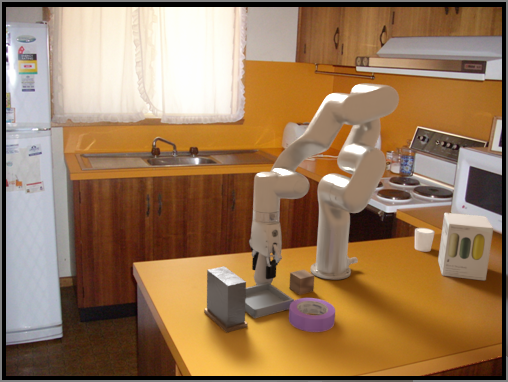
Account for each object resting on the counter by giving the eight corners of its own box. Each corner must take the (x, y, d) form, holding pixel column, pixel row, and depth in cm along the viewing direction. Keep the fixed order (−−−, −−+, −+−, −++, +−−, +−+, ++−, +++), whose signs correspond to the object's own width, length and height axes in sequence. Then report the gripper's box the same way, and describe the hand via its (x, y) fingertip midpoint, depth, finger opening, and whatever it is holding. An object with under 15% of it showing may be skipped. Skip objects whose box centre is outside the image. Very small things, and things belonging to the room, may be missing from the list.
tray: (268, 290, 150) (268, 282, 150) (293, 307, 140) (293, 299, 140) (230, 299, 144) (231, 291, 143) (254, 318, 134) (254, 309, 133)
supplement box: (441, 276, 165) (448, 223, 160) (437, 261, 177) (443, 211, 173) (486, 281, 162) (494, 227, 157) (479, 265, 174) (486, 215, 170)
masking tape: (330, 311, 140) (331, 298, 139) (337, 333, 128) (338, 319, 127) (287, 310, 139) (288, 296, 139) (290, 332, 128) (291, 318, 127)
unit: (224, 307, 139) (225, 265, 137) (247, 326, 130) (249, 282, 127) (204, 312, 136) (204, 269, 133) (226, 332, 126) (227, 287, 124)
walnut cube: (303, 285, 155) (303, 269, 154) (313, 291, 151) (314, 275, 150) (289, 288, 152) (290, 272, 151) (299, 295, 148) (300, 278, 147)
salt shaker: (262, 279, 158) (263, 238, 155) (277, 284, 154) (279, 243, 151) (249, 285, 153) (251, 243, 150) (264, 290, 150) (266, 248, 147)
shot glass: (434, 248, 189) (436, 229, 188) (429, 253, 184) (432, 234, 182) (415, 244, 193) (417, 226, 191) (410, 249, 187) (412, 231, 186)
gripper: (294, 222, 144) (291, 282, 148) (260, 206, 158) (258, 261, 162) (272, 225, 140) (269, 287, 144) (239, 209, 154) (238, 265, 158)
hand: (263, 273), depth 153 cm, fingers open, 6 cm apart
